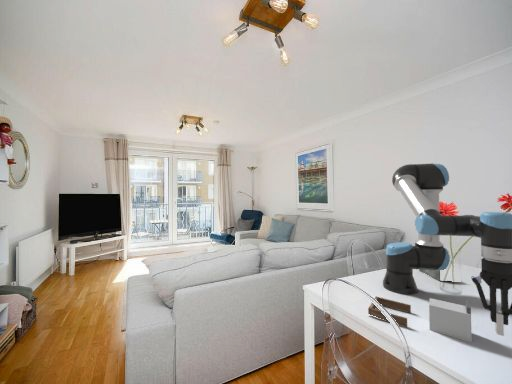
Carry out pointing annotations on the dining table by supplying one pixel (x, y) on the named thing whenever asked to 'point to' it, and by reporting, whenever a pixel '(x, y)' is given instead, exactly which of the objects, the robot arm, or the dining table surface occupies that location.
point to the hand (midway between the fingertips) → (499, 333)
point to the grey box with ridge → (450, 319)
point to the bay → (391, 304)
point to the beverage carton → (432, 273)
